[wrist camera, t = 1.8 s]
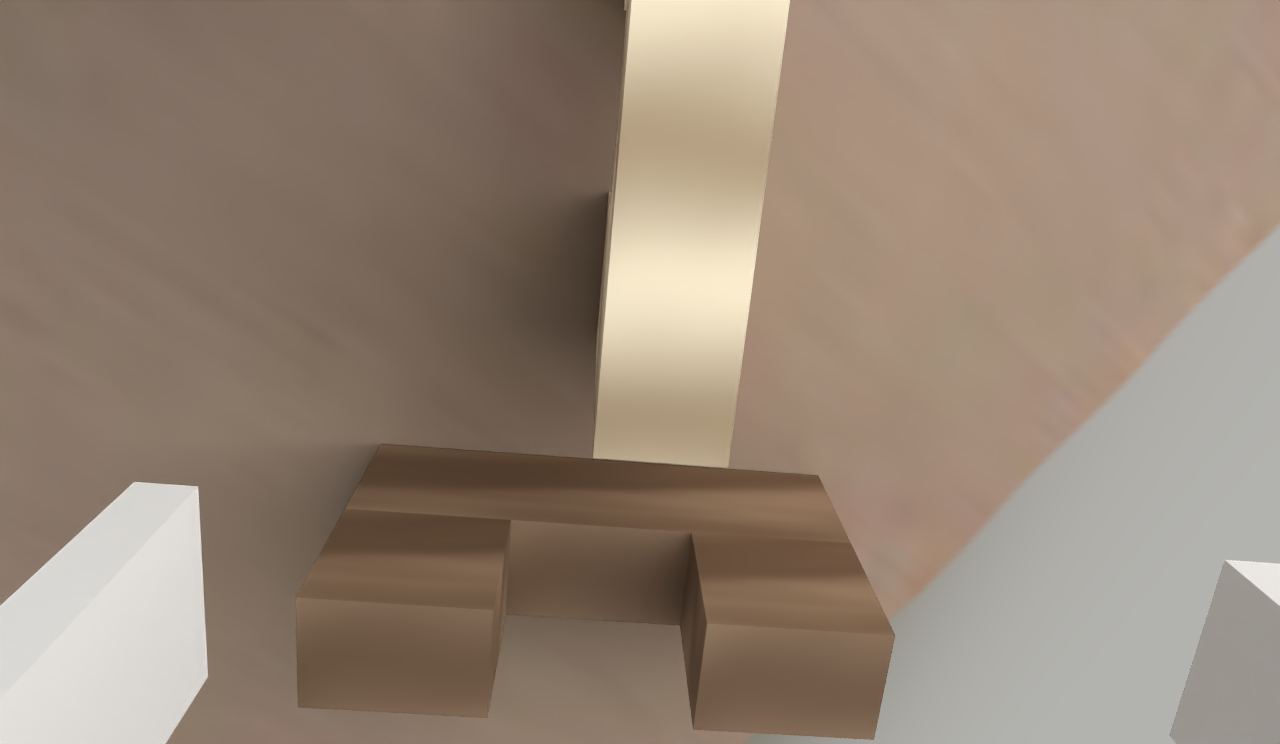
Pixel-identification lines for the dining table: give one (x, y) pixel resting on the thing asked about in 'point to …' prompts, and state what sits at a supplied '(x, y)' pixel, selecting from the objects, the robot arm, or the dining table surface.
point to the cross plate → (684, 225)
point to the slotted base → (593, 585)
